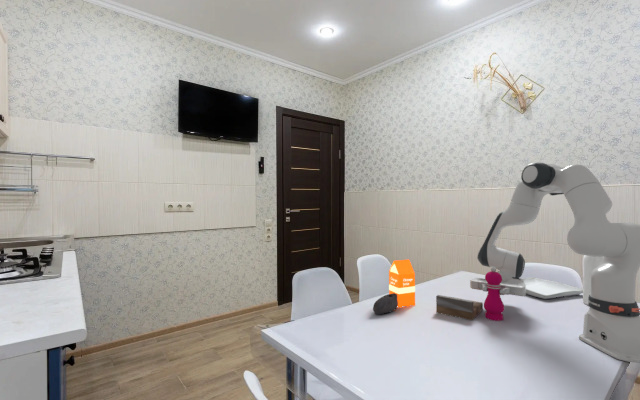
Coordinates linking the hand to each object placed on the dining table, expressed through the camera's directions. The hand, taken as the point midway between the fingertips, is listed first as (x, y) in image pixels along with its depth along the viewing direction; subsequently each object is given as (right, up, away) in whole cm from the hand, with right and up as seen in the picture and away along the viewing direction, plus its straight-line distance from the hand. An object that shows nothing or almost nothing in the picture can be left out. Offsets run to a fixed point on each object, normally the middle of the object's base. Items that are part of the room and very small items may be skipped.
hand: (493, 290), depth 128 cm
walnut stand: (-9, -11, +9) cm, 17 cm away
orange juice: (-31, -12, +19) cm, 39 cm away
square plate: (+44, -12, +38) cm, 60 cm away
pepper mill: (+1, -11, +1) cm, 11 cm away
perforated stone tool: (-41, -12, +9) cm, 44 cm away
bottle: (+54, -11, +16) cm, 57 cm away
